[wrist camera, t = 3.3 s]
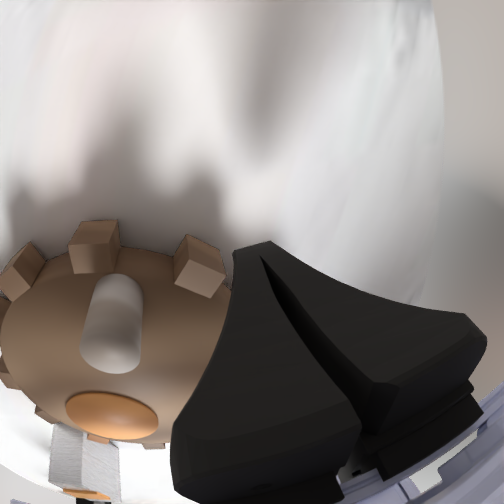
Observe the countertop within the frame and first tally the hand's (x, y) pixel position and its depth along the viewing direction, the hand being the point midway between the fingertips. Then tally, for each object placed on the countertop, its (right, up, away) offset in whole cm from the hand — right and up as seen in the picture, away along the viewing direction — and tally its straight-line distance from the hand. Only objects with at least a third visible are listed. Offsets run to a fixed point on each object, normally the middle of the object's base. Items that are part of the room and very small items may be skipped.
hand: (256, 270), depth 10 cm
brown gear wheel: (-7, -5, +5) cm, 10 cm away
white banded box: (-15, -16, +10) cm, 24 cm away
